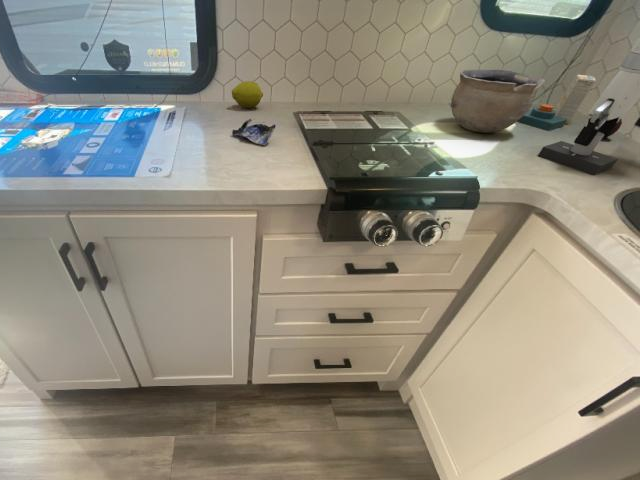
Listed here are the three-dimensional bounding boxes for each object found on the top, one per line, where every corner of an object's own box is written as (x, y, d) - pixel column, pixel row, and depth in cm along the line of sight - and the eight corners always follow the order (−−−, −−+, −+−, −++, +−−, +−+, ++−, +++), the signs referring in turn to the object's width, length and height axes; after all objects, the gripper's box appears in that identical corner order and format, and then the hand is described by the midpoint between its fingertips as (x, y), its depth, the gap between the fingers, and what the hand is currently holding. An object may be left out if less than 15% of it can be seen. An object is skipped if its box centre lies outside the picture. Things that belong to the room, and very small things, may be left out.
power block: (563, 126, 116) (571, 113, 113) (547, 130, 112) (556, 117, 110) (527, 116, 123) (534, 103, 121) (511, 119, 120) (518, 107, 117)
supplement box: (568, 124, 117) (597, 80, 108) (551, 121, 119) (578, 78, 110) (567, 118, 123) (594, 75, 113) (551, 116, 124) (577, 73, 115)
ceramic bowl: (481, 144, 101) (510, 86, 91) (425, 121, 115) (445, 68, 105) (529, 136, 108) (562, 80, 98) (471, 115, 122) (495, 64, 112)
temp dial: (574, 148, 95) (589, 127, 91) (593, 153, 92) (608, 132, 88) (567, 150, 93) (581, 130, 89) (585, 156, 90) (601, 135, 86)
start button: (552, 112, 115) (555, 106, 114) (546, 113, 114) (550, 107, 112) (541, 109, 117) (544, 103, 116) (535, 110, 116) (539, 104, 115)
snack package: (234, 147, 94) (276, 146, 95) (233, 121, 91) (277, 120, 91) (231, 139, 104) (269, 138, 105) (231, 115, 100) (270, 114, 101)
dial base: (611, 167, 92) (619, 158, 90) (593, 175, 88) (601, 165, 86) (555, 149, 100) (561, 140, 98) (537, 155, 96) (543, 146, 95)
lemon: (261, 105, 123) (263, 79, 117) (263, 111, 117) (265, 84, 112) (231, 104, 123) (231, 78, 117) (231, 110, 117) (231, 83, 111)
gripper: (640, 57, 84) (589, 131, 96) (607, 63, 77) (557, 142, 89) (680, 63, 79) (621, 139, 91) (648, 70, 73) (589, 152, 85)
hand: (589, 141), depth 90 cm, fingers open, 9 cm apart
